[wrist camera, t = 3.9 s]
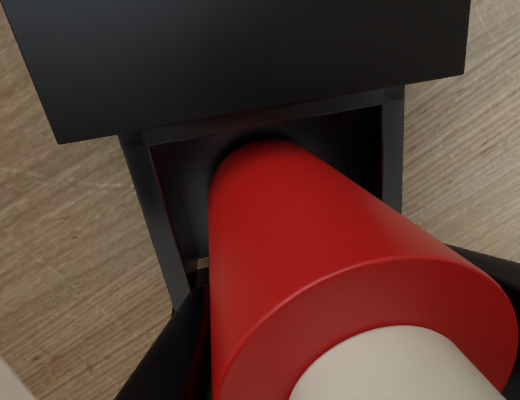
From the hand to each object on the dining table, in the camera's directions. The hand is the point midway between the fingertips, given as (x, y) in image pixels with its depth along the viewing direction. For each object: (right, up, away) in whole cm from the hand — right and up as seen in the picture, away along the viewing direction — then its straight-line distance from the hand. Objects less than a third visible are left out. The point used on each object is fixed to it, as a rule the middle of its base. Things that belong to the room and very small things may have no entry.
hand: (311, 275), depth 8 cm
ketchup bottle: (-1, +2, +5) cm, 6 cm away
